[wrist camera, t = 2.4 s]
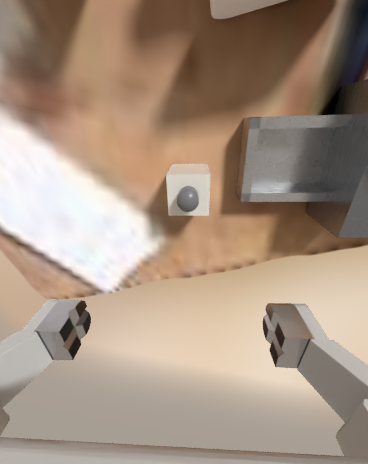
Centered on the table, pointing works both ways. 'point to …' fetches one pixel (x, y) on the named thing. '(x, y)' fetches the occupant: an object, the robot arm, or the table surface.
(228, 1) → the cable organizer
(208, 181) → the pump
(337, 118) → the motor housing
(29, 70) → the table surface
